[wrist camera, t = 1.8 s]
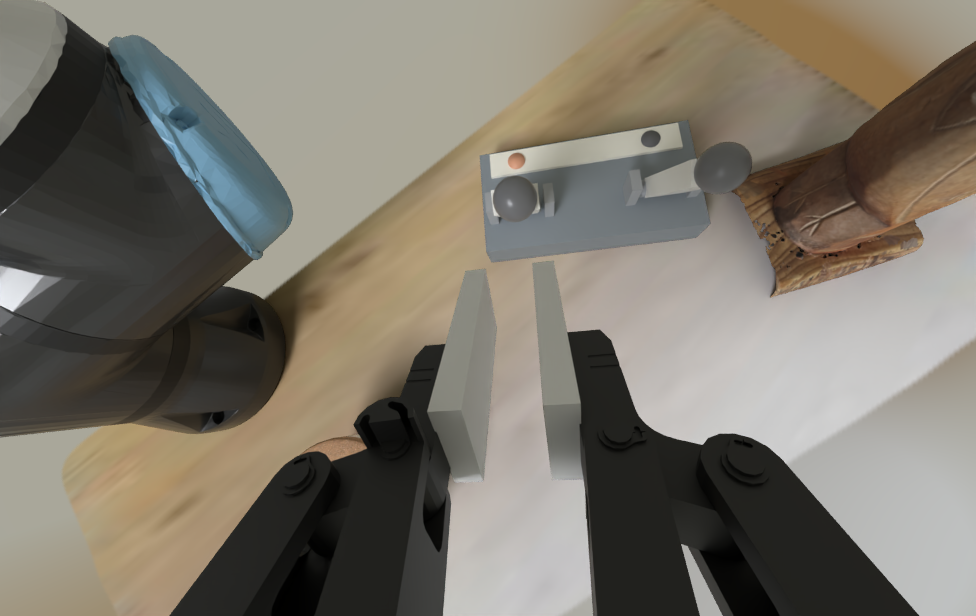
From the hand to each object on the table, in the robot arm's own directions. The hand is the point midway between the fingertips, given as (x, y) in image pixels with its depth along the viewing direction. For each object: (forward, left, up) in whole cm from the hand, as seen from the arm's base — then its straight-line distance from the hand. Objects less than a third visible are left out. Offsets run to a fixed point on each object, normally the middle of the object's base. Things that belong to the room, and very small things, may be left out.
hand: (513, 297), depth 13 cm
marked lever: (-4, +11, -16) cm, 20 cm away
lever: (+7, +15, -16) cm, 23 cm away
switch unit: (+1, +15, -20) cm, 25 cm away
